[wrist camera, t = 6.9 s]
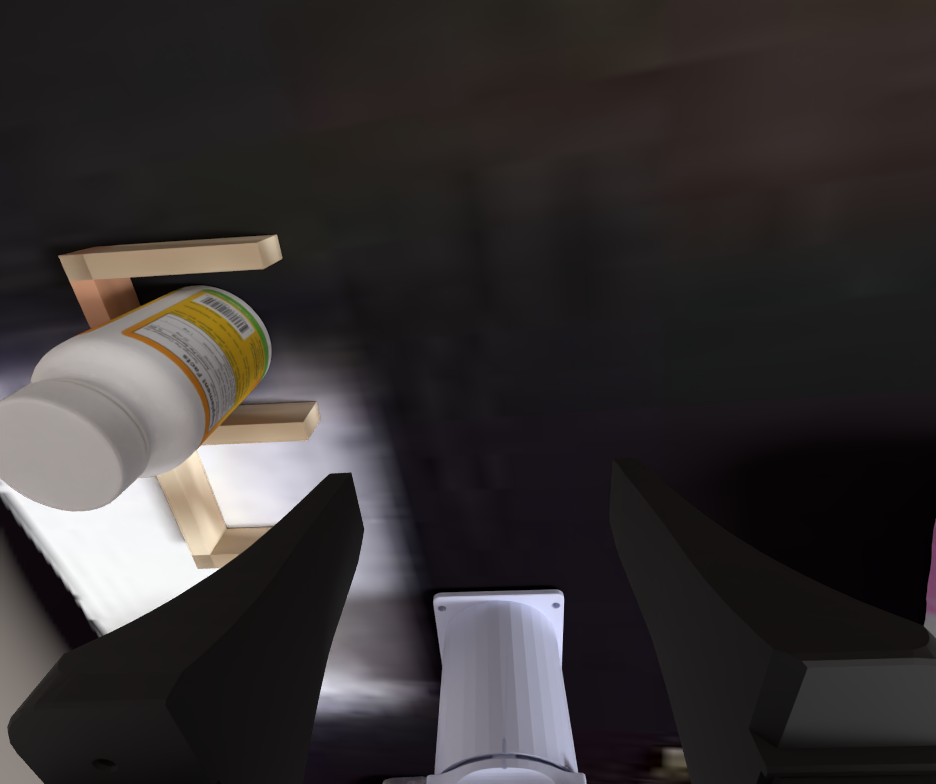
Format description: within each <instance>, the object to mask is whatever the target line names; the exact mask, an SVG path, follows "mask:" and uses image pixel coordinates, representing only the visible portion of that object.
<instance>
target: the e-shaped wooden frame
mask: <svg viewBox="0 0 936 784" xmlns="http://www.w3.org/2000/svg"><path fill="white" fill-rule="evenodd" d="M58 257H59V259H60V261H61V263H62V266H63V268H64V270H65V272H66V275H67V277H68V279H69V281H70V283H71V286H72V288H73V290H74V292H75V295H76V297H77V299H78V301H79V304H80V306H81V308H82V310H83V313H84V315H85V317H86V319H87V322H88V324H89V326H90V328H91V329H92V328H94V327H96V326H98V325H101V324H103V323H105V322H107V321H110V320H112V319H114V318H116V317H118V316H120V315H123V314H125V313H127V312H129V311H131V310H134V309H136V308H138V307H140V306H141V305H140V302H139V300H138V297H137V295H136V292H135V290H134V287H133V284H132V282H131V279H130V277H144V276H160V275H176V274H191V273H207V272H223V271H239V270H255V269H265V268H266V267H268V266H270V265H272V264H274V263H276V262H277V261H279V260H281V259H282V254H281V250H280V246H279V242H278V238H277V235H263V236H248V237H233V238H218V239H203V240H188V241H173V242H158V243H143V244H128V245H113V246H98V247H92V248H88V249H84V250H80V251H76V252H72V253H68V254H64V255H60V256H58ZM320 419H321V418H320V414H319V410H318V406H317V402H299V403H279V404H258V405H238V406H237V408H236V409H235V410H234V411H233V412H232V413H231V414H230V415H229V416H228V417H227V418H226V419H225V420H224V421H223V422H222V423H221V424H220V426H219V427H218V428H217V429H216V430H215V431H214V432H213V433H212V434H211V435H210V436H209V437H208V438H207V439H206V440H205V441H204V442H203V443H202V445H217V444H240V443H262V442H284V441H307V440H309V438H310V436H311V434H312V433H313V431H314V429H315V428H316V426H317V424H318V423H319V421H320ZM156 476H157V478H158V481H159V483H160V485H161V487H162V490H163V492H164V494H165V496H166V499H167V501H168V503H169V505H170V508H171V510H172V512H173V514H174V516H175V519H176V521H177V523H178V525H179V528H180V530H181V532H182V534H183V537H184V539H185V541H186V543H187V546H188V548H189V550H190V552H191V555H192V557H193V559H194V561H195V564H196V566H197V568H198V569H203V568H222V567H223V566H224V565H226V564H227V563H229V562H230V561H231V560H233V559H234V558H235V557H237V556H238V555H239V554H241V553H242V552H243V551H245V550H246V549H247V548H248V547H250V546H251V545H252V544H253V543H254V542H256V541H257V540H258V539H259V538H260V537H261V536H263V535H264V534H265V533H266V532H267V531H268V530H270V529H271V528H272V527H261V528H233V529H227V527H226V524H225V522H224V519H223V517H222V514H221V512H220V509H219V506H218V504H217V501H216V499H215V496H214V493H213V491H212V488H211V486H210V483H209V481H208V478H207V475H206V473H205V470H204V468H203V465H202V462H201V460H200V457H199V455H198V452H197V450H196V451H195V452H194V453H193V454H192V455H191V456H190V457H189V458H188V459H187V460H185V461H184V462H183V463H182V464H180V465H179V466H178V467H176V468H174V469H172V470H170V471H168V472H166V473H163V474H160V475H156Z"/></svg>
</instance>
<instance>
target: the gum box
mask: <svg viewBox="0 0 936 784" xmlns="http://www.w3.org/2000/svg"><path fill="white" fill-rule="evenodd" d="M926 601H927V607H926V617H925V623H924V627H925V628H926V629H927V630H928V631H929V632H930V633H931V634H932V635H933V636H934V637H935V638H936V520H935V524H934V529H933V540H932V558H931V568H930V574H929V579H928V586H927V595H926Z"/></svg>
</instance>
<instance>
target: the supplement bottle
mask: <svg viewBox="0 0 936 784" xmlns="http://www.w3.org/2000/svg"><path fill="white" fill-rule="evenodd" d="M271 354H272V350H271V342H270V338H269V335H268V332H267V329H266V327H265V325H264V324H263V322H262V321H261V319H260V318H259V316H258V315H257V314H256V313H255V312H254V310H253V309H252V308H251V307H250V306H249V305H248V304H246V303H245V302H244V301H243V300H241V299H240V298H238V297H237V296H235V295H233V294H231V293H229V292H227V291H225V290H222V289H219V288H215V287H211V286H201V285H198V286H188V287H184V288H180V289H178V290H175V291H172V292H170V293H168V294H166V295H164V296H162V297H159V298H157V299H155V300H153V301H151V302H149V303H147V304H144V305H142V306H140V307H138V308H136V309H134V310H131V311H129V312H127V313H125V314H123V315H120V316H118V317H116V318H114V319H112V320H110V321H107V322H105V323H103V324H101V325H98V326H96V327H94V328H92V329H89V330H87V331H85V332H83V333H81V334H78V335H76V336H74V337H72V338H70V339H68V340H66V341H65V342H63V343H61V344H59V345H58V346H56V347H54V348H53V349H51V350H50V351H49V352H48V353H46V354H45V356H44V357H43V358H42V359H41V360H40V361H39V363H38V364H37V366H36V367H35V369H34V372H33V375H32V378H31V383H30V384H29V385H27V386H25V387H23V388H21V389H20V390H18V391H17V392H15V393H13V394H11V395H10V396H8V397H6V398H4V399H2V400H1V401H0V478H1V479H2V480H3V481H4V482H5V483H6V484H7V485H9V486H10V487H11V488H13V489H14V490H16V491H17V492H19V493H20V494H22V495H23V496H25V497H27V498H29V499H31V500H33V501H35V502H38V503H40V504H43V505H46V506H49V507H52V508H56V509H60V510H66V511H89V510H94V509H98V508H100V507H103V506H105V505H107V504H109V503H111V502H112V501H113V500H114V499H116V498H117V497H118V496H119V495H120V494H121V493H122V492H123V491H124V490H125V489H126V488H128V487H129V486H130V485H131V484H132V483H133V482H134V481H135V480H136V479H137V478H145V477H152V476H156V475H160V474H163V473H166V472H168V471H170V470H172V469H174V468H176V467H178V466H179V465H180V464H182V463H183V462H184V461H185V460H187V459H188V458H189V457H190V456H191V455H192V454H193V453H194V452H195V451H196V450H197V449H198V448H199V447H200V446H201V445H202V443H203V442H204V441H205V440H206V439H207V438H208V437H209V436H210V435H211V434H212V433H213V432H214V431H215V430H216V429H217V428H218V427H219V426H220V424H221V423H222V422H223V421H224V420H225V419H226V418H227V417H228V416H229V415H230V414H231V413H232V412H233V411H234V410H235V409H236V408H237V406H238V405H239V404H240V403H241V402H242V401H243V400H244V399H245V398H246V397H247V396H248V395H249V394H250V393H251V392H252V390H253V389H254V388H255V387H256V386H257V385H258V384H259V383H260V382H261V380H262V379H263V378H264V376H265V375H266V373H267V371H268V369H269V366H270V362H271Z"/></svg>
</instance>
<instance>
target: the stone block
mask: <svg viewBox="0 0 936 784" xmlns="http://www.w3.org/2000/svg"><path fill="white" fill-rule="evenodd" d="M426 783H427V777H422V776H420V777H402V778H390V779H386V780H384V782H383V784H426Z"/></svg>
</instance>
